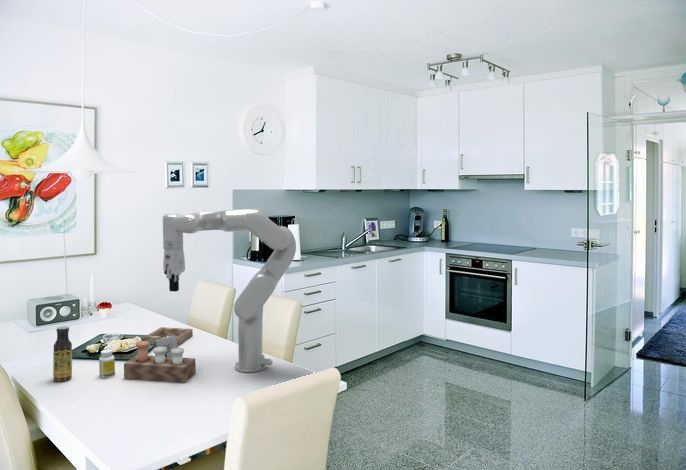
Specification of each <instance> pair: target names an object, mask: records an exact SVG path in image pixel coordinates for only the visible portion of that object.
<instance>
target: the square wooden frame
mask: <svg viewBox="0 0 686 470" xmlns="http://www.w3.org/2000/svg"><path fill="white" fill-rule="evenodd" d="M193 331H194V330H193V328H181V327H162V326H161V327H158V328H157V329H156V330H154V331H153V332H150V333H149V334H147V335H145V336H144V341H149V343H154V342H155V341H156V340H158V339H162V338H166V337H170V336H176V339H177V345H178V347H179V346H181V345H182V344H183V343H185V342H187V341H188V340H189V339H191V338H192V337H193V336H194V335H193V334H194V333H193ZM161 336H162V337H161Z"/></svg>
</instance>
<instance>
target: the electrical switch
mask: <svg viewBox="0 0 686 470" xmlns="http://www.w3.org/2000/svg"><path fill="white" fill-rule="evenodd" d="M165 337H166V338H162V339H158V340H156V341H155V342H154V345H153V347H154V348H156V347H166V348H167V351H166V352H165V357H173V355H172V354H171V349H173V348H179V346H178V345H177V339H176V337H177V336H165Z"/></svg>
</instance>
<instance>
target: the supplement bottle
mask: <svg viewBox="0 0 686 470" xmlns="http://www.w3.org/2000/svg"><path fill="white" fill-rule="evenodd" d="M98 362H99V367H98V368H99V369H98V371H99V377H100V378H101V379H102V378H103V379H108V378H112V377H114V376H116V375H115V374H116V366H115V365H116V364H115V363H116V359H115V356H114V355H113V350H112V349H109V348H107V349H104V350H101V351H100V357H99V359H98Z"/></svg>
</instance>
